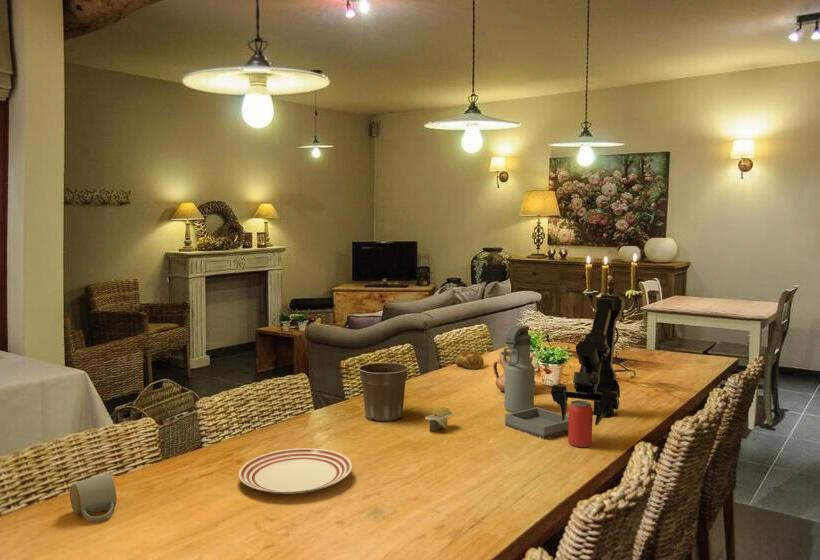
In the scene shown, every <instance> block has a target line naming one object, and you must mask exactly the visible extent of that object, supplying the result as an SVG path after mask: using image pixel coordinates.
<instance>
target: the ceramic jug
mask: <svg viewBox="0 0 820 560" xmlns="http://www.w3.org/2000/svg"><path fill="white" fill-rule="evenodd" d="M503 356H504V350H503V351H500V352H499V358H498V359H495V360H494V361H493V363H492V369H493V370H492V371H493V374H494V376H495V378H496V380H495V386H496V387H497V389H498V390H500V391H502V392H504V393H505V366H506V365H507V364H508V363H505V362H504V359H503ZM506 359H507V361H509V362H510V350H507V351H506ZM533 360H534V354H533V353H531V352H530V363H531V364H532V365H533V366H534V368H535V370H536V369H537V368H538V365H537V364H536V363H533ZM498 364H499V365H501V367H502V369H503V371H504V373H503V374H502V375H499V372H498V369H497V368H498ZM536 386H537V384H536V380H535V379H534V389H536Z"/></svg>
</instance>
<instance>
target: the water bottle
mask: <svg viewBox="0 0 820 560" xmlns="http://www.w3.org/2000/svg"><path fill="white" fill-rule="evenodd" d="M529 331H530V325H522V324H521V325H516V326H512V327H511V328H509V330H507V333H506V336H505V342H506V343H507V347H504V349H503V351H504V356H503V359H504V362H505V363H508V364H507V365H506V366H505V372H504V373H505V392H504V403H503V404H504V409H505V410H506V411H507V412H510V413H514V412H518V411H522V410H527V409H531V408H535V388H534V380H535V377H536V376H535V374H536V373H535V371H536V369H535V368H534V366H533V365H532V364H533V363H530V353H531V347H532V343H531V342H532V341H531V340H532V336H531V335H530V334H529ZM506 351H510V362H509V361H507V359H506Z"/></svg>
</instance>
